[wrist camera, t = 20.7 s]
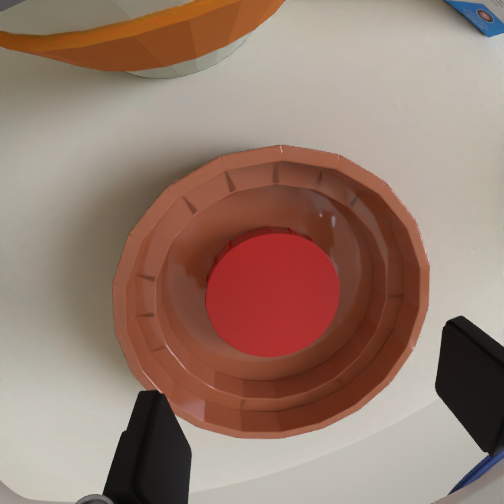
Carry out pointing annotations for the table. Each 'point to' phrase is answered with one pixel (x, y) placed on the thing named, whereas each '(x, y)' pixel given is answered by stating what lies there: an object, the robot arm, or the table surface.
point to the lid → (271, 292)
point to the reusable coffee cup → (132, 32)
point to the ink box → (482, 14)
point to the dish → (303, 361)
